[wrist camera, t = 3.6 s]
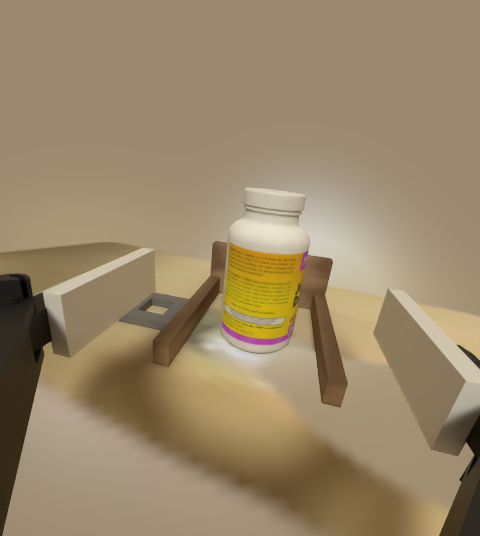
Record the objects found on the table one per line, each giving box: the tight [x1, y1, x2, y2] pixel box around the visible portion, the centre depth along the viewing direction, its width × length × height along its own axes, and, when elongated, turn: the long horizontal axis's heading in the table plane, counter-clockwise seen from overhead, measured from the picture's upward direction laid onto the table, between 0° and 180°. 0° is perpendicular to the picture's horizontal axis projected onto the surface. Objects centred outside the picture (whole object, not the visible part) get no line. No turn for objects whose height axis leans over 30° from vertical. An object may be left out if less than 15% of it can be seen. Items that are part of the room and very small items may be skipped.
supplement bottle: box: [220, 188, 310, 353], centre depth 22 cm, size 7×7×13 cm
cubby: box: [153, 241, 348, 407], centre depth 24 cm, size 13×15×6 cm
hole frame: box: [118, 293, 189, 330], centre depth 25 cm, size 5×5×1 cm
